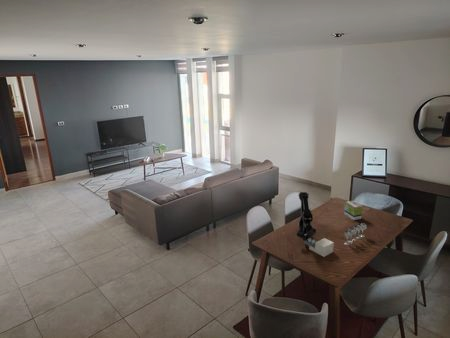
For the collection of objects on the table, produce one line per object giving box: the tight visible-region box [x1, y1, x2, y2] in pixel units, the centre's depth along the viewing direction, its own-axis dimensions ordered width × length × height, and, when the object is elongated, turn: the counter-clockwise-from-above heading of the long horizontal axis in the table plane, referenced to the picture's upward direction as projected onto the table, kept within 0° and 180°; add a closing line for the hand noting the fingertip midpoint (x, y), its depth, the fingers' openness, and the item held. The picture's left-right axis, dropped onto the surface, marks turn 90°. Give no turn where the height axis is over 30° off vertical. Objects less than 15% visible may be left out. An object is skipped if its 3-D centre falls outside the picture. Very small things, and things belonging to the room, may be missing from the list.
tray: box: [303, 237, 318, 248], centre depth 267 cm, size 14×6×6 cm, turn 35°
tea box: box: [343, 200, 363, 221], centre depth 317 cm, size 15×10×15 cm, turn 17°
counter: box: [308, 237, 335, 258], centre depth 259 cm, size 15×12×9 cm
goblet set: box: [343, 222, 368, 246], centre depth 274 cm, size 28×6×13 cm, turn 124°
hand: (305, 240), depth 273 cm, fingers closed, pressing on tray
